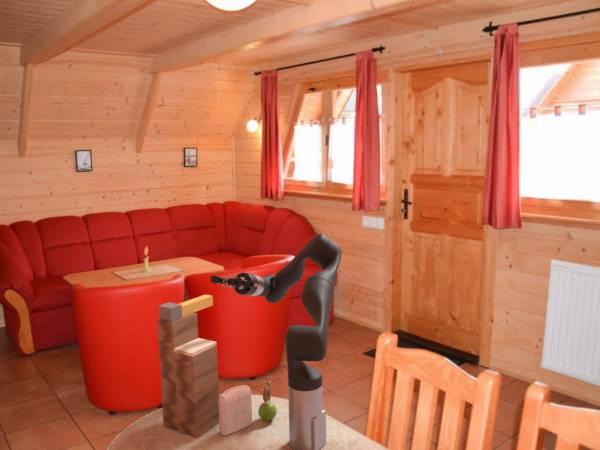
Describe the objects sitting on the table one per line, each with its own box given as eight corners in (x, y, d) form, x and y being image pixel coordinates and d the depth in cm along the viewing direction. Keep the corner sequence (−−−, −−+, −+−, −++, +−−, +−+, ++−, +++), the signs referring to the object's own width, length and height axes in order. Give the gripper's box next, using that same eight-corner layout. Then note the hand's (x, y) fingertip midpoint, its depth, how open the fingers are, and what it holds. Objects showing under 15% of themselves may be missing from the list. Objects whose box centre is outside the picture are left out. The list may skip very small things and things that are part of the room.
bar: (215, 305, 167) (214, 293, 166) (171, 322, 152) (171, 308, 151) (203, 303, 169) (202, 291, 169) (159, 319, 154) (158, 305, 154)
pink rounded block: (245, 419, 162) (244, 380, 161) (254, 424, 159) (253, 384, 158) (217, 432, 155) (215, 391, 154) (226, 437, 152) (224, 396, 150)
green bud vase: (279, 414, 165) (278, 376, 163) (274, 424, 159) (273, 386, 157) (261, 413, 166) (260, 375, 164) (256, 423, 160) (255, 385, 158)
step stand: (220, 422, 160) (215, 316, 156) (196, 438, 152) (191, 326, 147) (187, 412, 167) (182, 310, 163) (163, 426, 159) (157, 319, 154)
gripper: (233, 271, 189) (206, 266, 175) (268, 275, 183) (243, 270, 169) (230, 293, 188) (202, 289, 174) (265, 298, 182) (239, 294, 168)
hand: (222, 280), depth 171 cm, fingers open, 8 cm apart
